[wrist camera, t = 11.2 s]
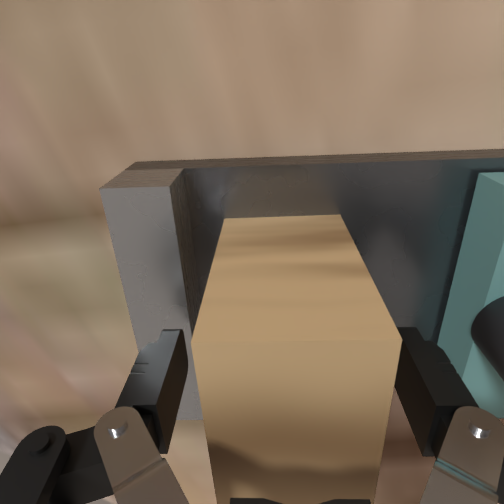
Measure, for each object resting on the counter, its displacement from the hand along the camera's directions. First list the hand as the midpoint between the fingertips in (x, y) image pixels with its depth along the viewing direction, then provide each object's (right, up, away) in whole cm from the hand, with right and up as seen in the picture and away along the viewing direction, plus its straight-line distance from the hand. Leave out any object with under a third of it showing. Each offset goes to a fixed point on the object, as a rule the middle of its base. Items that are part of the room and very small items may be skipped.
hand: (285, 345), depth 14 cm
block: (0, +2, +3) cm, 4 cm away
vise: (+3, +2, +5) cm, 6 cm away
